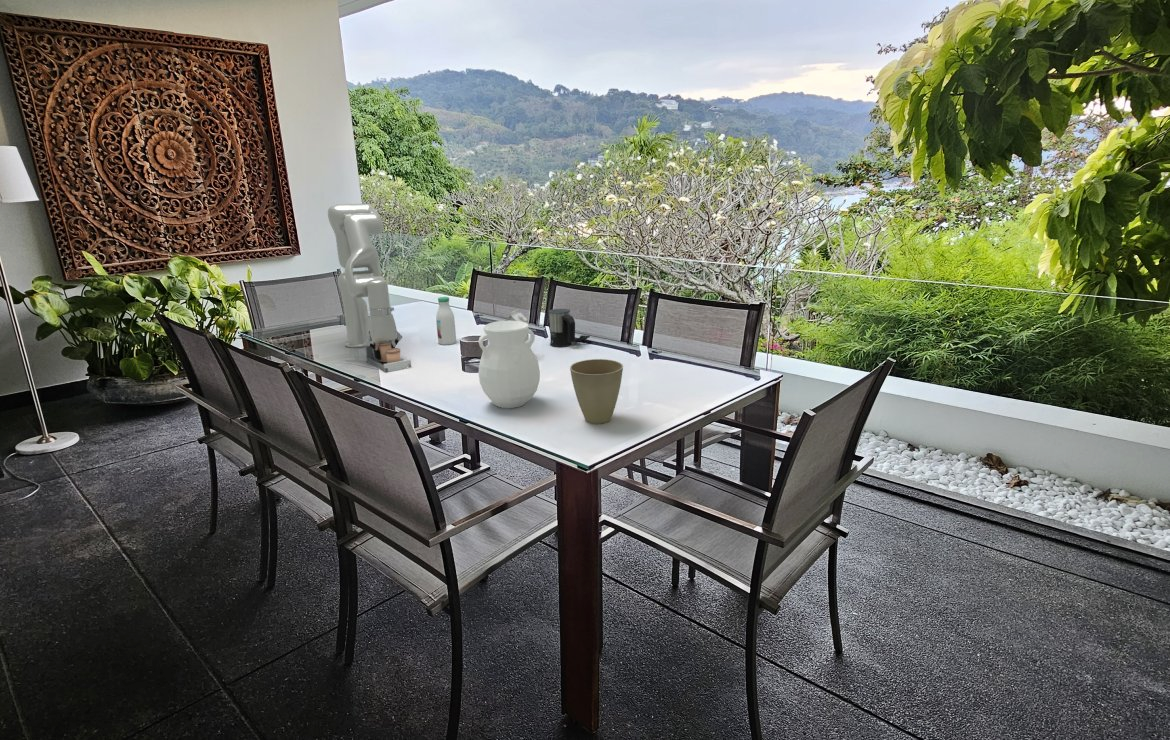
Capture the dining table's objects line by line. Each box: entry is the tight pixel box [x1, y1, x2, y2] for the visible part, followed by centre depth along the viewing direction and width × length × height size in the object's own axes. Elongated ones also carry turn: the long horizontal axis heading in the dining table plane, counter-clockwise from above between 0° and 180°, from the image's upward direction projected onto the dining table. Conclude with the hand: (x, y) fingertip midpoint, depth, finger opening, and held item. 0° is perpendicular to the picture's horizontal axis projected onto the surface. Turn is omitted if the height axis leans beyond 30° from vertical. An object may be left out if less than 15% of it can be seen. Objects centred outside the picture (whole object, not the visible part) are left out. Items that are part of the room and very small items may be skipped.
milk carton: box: [504, 308, 530, 342], centre depth 239 cm, size 7×7×19 cm
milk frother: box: [547, 308, 591, 348], centre depth 260 cm, size 14×16×15 cm
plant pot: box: [569, 358, 624, 425], centre depth 174 cm, size 15×15×16 cm
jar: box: [378, 341, 391, 363], centre depth 238 cm, size 5×5×7 cm
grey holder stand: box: [365, 346, 412, 373], centre depth 236 cm, size 20×10×6 cm, turn 37°
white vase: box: [478, 320, 541, 409], centre depth 188 cm, size 19×18×25 cm
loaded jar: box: [385, 347, 401, 364], centre depth 232 cm, size 5×5×7 cm
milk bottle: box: [436, 296, 457, 346], centre depth 265 cm, size 8×8×20 cm
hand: (385, 357), depth 239 cm, fingers closed on jar, 5 cm apart
